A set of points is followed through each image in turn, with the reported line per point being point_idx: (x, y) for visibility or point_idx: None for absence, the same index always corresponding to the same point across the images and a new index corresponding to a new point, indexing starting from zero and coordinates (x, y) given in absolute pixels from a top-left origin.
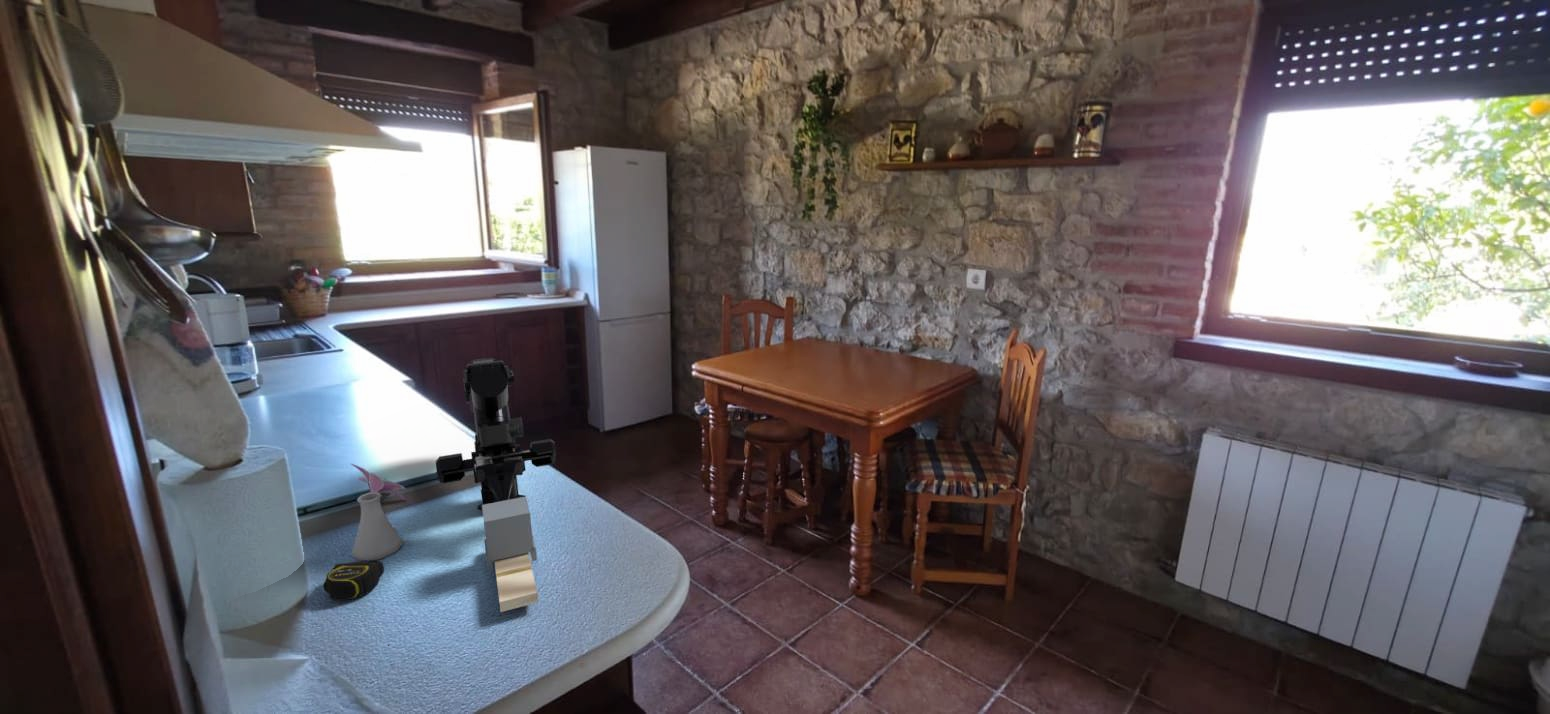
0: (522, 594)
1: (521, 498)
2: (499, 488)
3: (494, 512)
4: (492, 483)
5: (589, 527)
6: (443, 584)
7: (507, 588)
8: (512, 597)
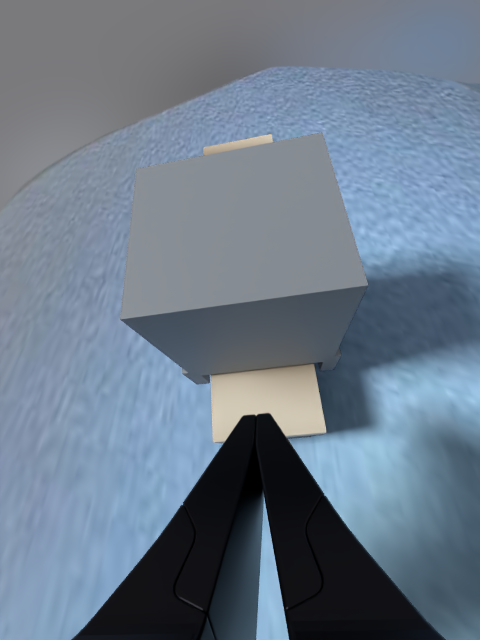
0: (229, 146)
1: (146, 303)
2: (272, 487)
3: (283, 196)
4: (338, 535)
5: (38, 475)
6: (426, 304)
7: None
8: (247, 141)
